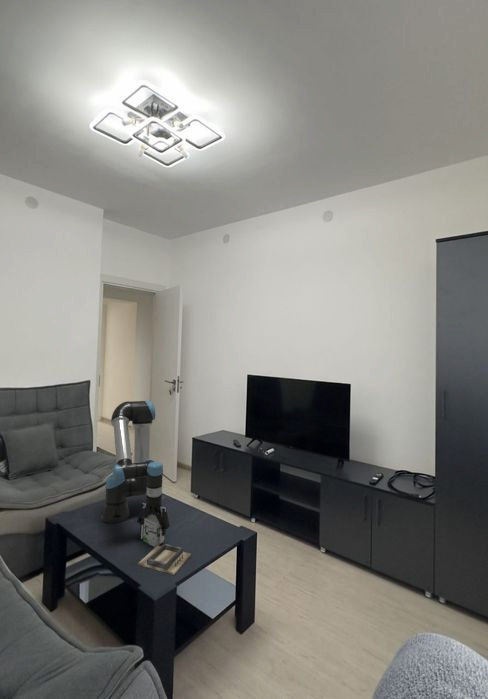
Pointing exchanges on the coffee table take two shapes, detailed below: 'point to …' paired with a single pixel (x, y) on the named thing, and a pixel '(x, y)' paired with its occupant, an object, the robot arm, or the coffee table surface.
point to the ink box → (152, 530)
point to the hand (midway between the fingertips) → (152, 539)
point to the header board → (165, 559)
